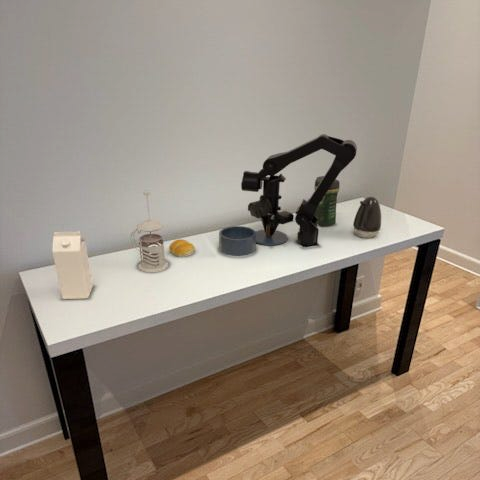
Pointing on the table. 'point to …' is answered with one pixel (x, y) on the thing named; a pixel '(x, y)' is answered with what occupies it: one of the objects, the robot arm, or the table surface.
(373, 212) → the dark grey rounded figure
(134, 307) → the table surface
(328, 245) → the table surface
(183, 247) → the bread roll
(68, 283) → the milk carton
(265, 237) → the pot lid
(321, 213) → the coffee jar
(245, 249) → the pot
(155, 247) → the french press
